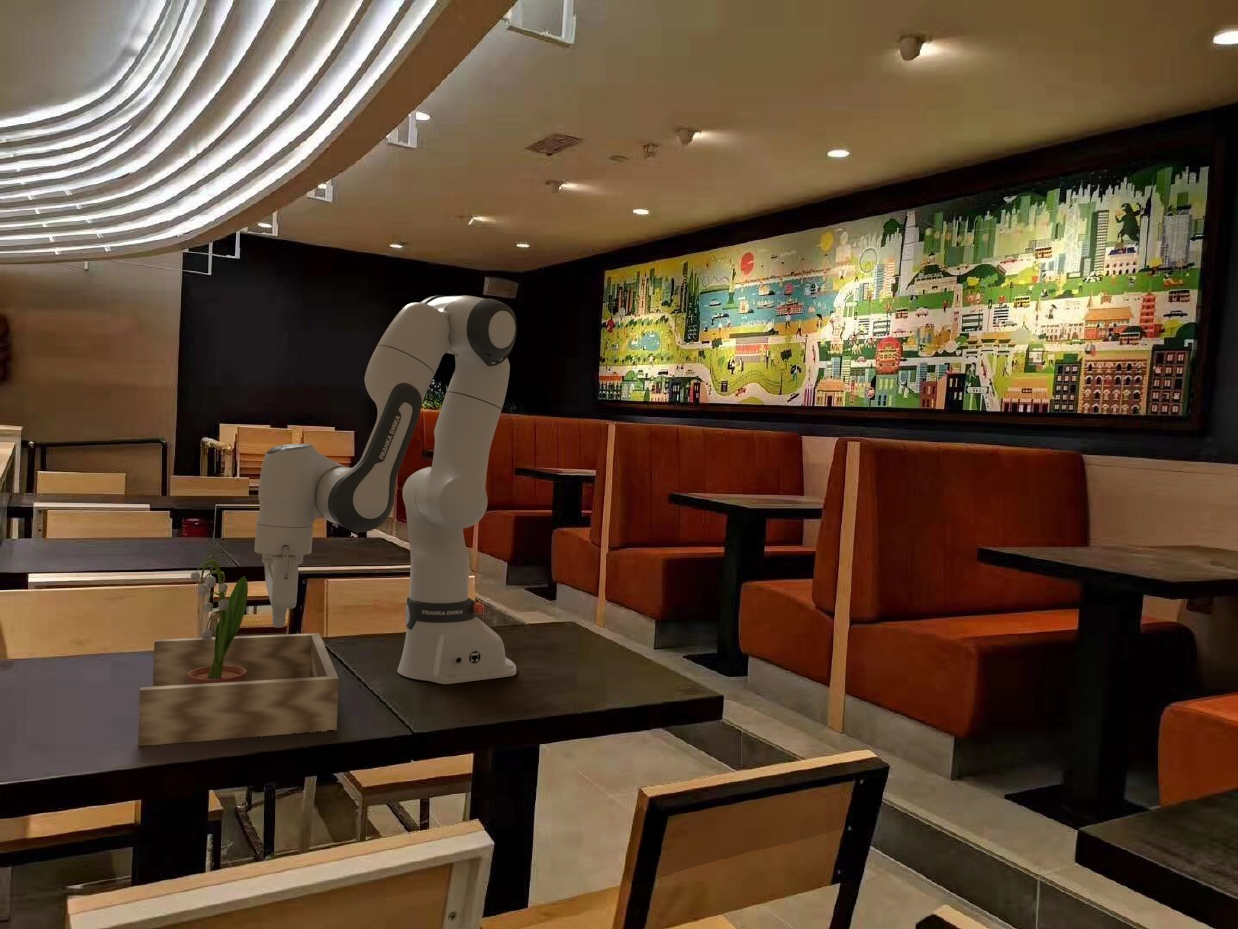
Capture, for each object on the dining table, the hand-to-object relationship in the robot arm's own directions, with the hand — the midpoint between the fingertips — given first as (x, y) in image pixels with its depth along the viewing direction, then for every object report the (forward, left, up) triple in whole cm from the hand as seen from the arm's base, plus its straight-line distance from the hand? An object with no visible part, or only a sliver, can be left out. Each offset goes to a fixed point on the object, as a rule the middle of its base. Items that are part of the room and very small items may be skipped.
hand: (278, 625), depth 151 cm
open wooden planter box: (+5, 0, -13) cm, 14 cm away
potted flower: (+9, 0, -13) cm, 16 cm away
